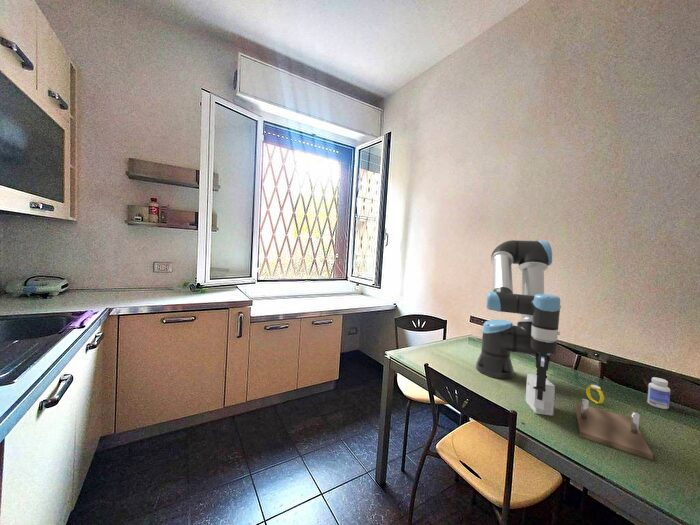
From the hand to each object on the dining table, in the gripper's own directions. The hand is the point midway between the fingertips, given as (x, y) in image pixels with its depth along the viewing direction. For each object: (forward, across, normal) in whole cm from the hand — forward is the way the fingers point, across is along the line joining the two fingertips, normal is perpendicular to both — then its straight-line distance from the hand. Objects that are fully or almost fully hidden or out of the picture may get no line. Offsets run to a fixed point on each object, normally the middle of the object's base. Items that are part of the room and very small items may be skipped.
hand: (539, 401), depth 96 cm
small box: (+3, 0, 0) cm, 3 cm away
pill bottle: (+3, +31, -36) cm, 48 cm away
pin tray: (+3, 0, -18) cm, 18 cm away
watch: (+3, +19, -17) cm, 26 cm away
